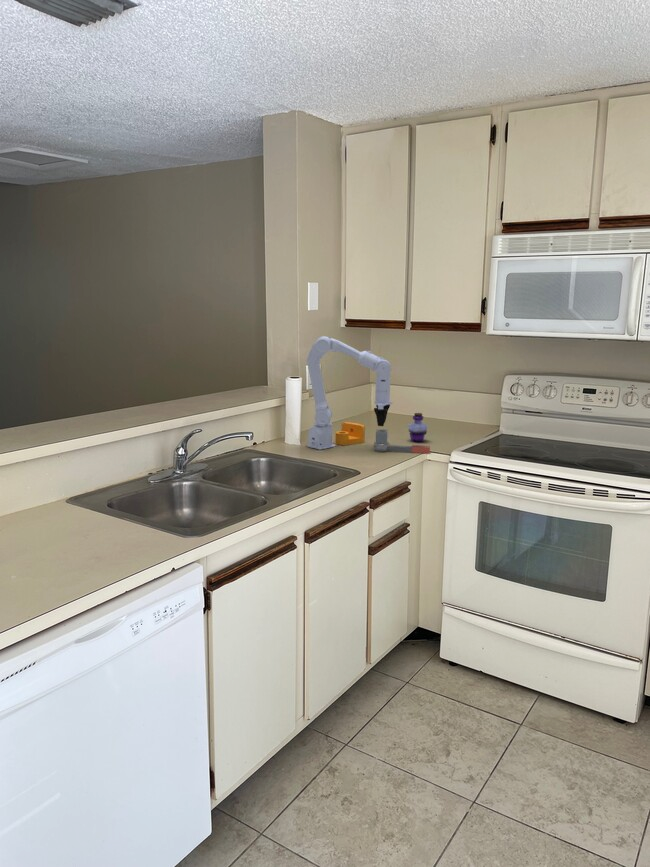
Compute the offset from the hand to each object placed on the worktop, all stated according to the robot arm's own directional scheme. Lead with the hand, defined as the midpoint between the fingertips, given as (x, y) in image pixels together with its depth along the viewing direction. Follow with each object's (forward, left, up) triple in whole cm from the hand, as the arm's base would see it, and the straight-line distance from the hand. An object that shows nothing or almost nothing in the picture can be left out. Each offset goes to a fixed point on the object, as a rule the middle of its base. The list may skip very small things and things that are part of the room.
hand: (381, 424), depth 266 cm
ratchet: (+2, -9, -10) cm, 14 cm away
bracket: (+3, +17, -6) cm, 19 cm away
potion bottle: (+22, -2, -10) cm, 24 cm away
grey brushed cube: (-2, -3, -7) cm, 8 cm away
